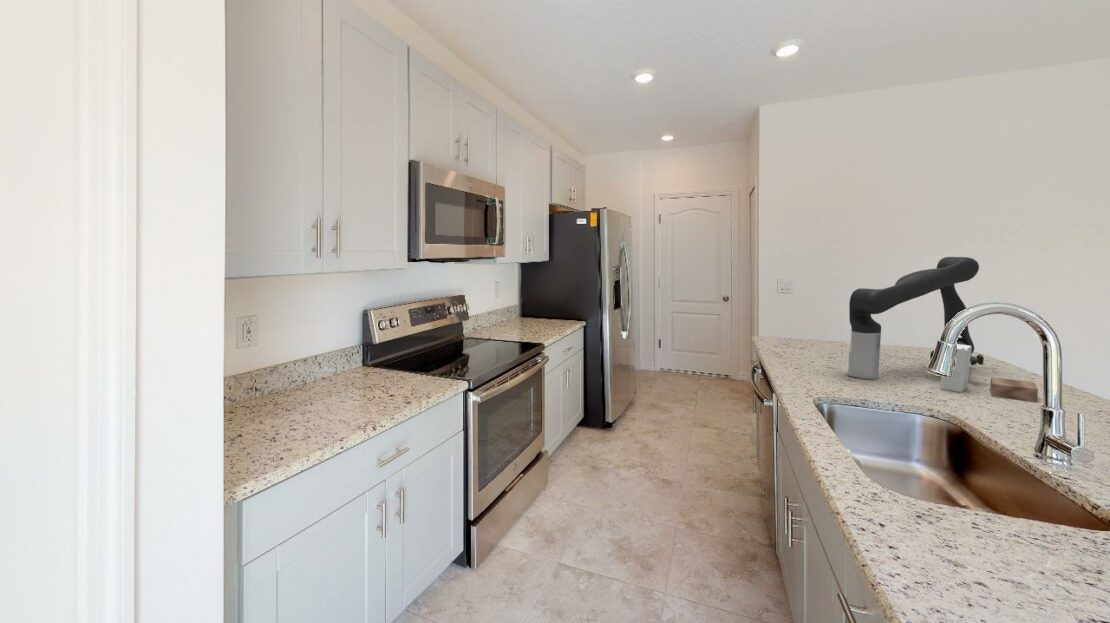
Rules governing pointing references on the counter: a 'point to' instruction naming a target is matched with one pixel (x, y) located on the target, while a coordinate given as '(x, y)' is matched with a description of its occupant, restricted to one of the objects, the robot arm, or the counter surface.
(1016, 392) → the walnut base
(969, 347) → the skincare box
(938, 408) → the counter surface
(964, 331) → the robot arm
